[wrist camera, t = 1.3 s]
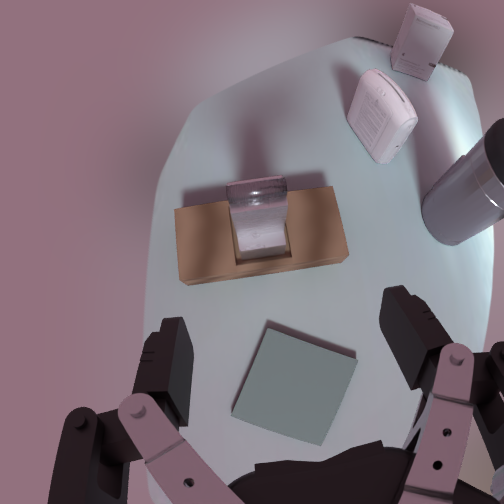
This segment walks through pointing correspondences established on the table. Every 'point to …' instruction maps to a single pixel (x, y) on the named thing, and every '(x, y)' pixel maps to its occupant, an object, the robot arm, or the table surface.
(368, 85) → the photo printer
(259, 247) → the lever cap
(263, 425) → the rubber mat
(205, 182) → the table surface
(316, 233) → the body
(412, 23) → the skincare box
